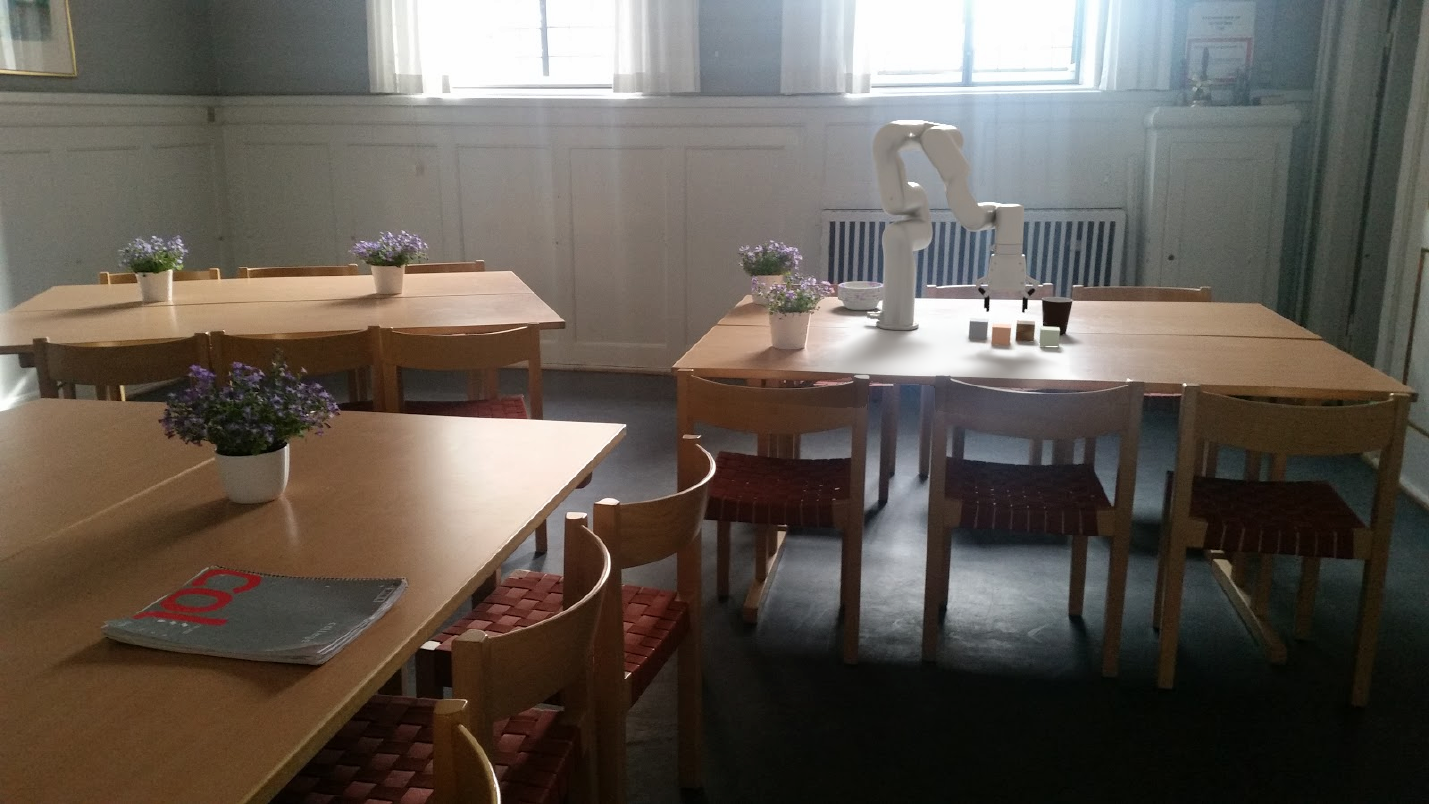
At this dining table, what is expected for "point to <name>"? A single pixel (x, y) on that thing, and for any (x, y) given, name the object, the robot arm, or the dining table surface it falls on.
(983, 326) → the slate cube
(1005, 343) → the terracotta cube
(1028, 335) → the walnut cube
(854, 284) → the white floral bowl
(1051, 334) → the sage cube
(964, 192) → the robot arm
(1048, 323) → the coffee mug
